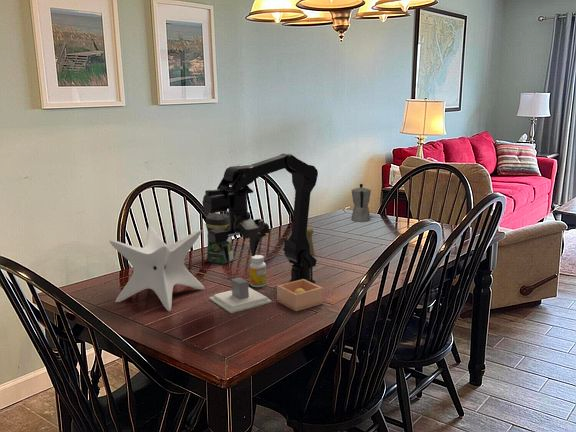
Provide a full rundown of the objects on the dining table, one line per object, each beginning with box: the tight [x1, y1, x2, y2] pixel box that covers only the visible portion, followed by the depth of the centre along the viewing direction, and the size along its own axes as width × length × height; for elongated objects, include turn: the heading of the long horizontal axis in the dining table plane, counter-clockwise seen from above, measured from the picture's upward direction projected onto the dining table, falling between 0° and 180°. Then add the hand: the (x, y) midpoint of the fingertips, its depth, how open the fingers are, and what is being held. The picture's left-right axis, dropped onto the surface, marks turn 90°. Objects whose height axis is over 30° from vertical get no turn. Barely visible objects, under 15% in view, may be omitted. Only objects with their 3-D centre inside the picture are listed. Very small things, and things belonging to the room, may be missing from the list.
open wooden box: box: [276, 279, 324, 312], centre depth 165 cm, size 10×10×5 cm
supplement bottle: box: [249, 254, 267, 288], centre depth 181 cm, size 5×5×10 cm
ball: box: [294, 288, 305, 294], centre depth 165 cm, size 4×4×4 cm
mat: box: [208, 295, 273, 314], centre depth 168 cm, size 14×14×1 cm
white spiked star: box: [108, 225, 205, 312], centre depth 171 cm, size 20×20×20 cm
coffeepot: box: [351, 183, 372, 223], centre depth 267 cm, size 15×9×18 cm, turn 175°
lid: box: [213, 277, 268, 310], centre depth 167 cm, size 12×12×6 cm
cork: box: [306, 226, 315, 257], centre depth 213 cm, size 6×6×11 cm
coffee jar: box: [205, 212, 234, 265], centre depth 206 cm, size 10×8×19 cm
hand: (240, 258), depth 167 cm, fingers open, 9 cm apart
